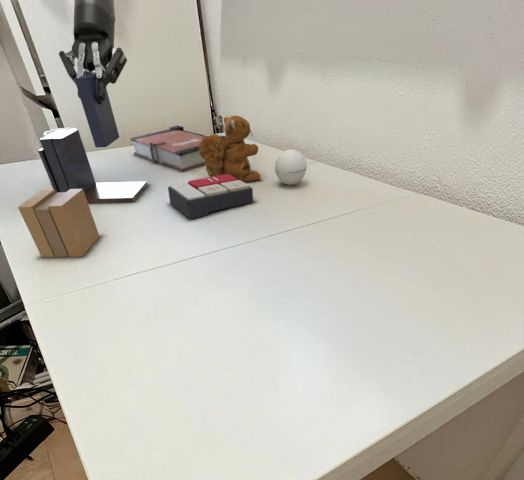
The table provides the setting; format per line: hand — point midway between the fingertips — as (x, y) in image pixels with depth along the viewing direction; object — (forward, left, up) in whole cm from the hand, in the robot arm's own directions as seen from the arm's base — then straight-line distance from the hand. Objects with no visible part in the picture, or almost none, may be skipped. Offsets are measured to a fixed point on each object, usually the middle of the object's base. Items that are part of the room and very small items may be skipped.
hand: (91, 101), depth 76 cm
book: (+12, +31, -19) cm, 39 cm away
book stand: (-5, +3, -19) cm, 20 cm away
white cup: (-17, +24, -19) cm, 35 cm away
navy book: (0, +2, -8) cm, 8 cm away
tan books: (-5, -24, -19) cm, 31 cm away
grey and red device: (+21, -9, -19) cm, 30 cm away
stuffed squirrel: (+26, +7, -19) cm, 33 cm away
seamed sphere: (+41, -1, -19) cm, 46 cm away
